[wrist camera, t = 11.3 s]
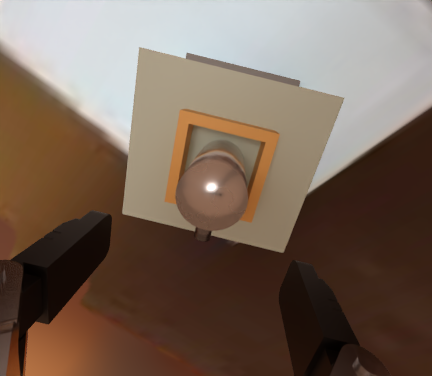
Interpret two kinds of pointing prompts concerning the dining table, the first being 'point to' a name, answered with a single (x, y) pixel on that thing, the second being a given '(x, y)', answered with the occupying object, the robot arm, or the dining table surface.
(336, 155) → the dining table surface
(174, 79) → the slab with orange tray
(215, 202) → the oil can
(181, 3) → the dining table surface
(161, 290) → the dining table surface
